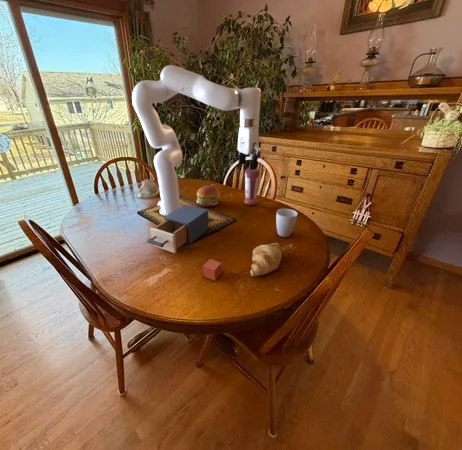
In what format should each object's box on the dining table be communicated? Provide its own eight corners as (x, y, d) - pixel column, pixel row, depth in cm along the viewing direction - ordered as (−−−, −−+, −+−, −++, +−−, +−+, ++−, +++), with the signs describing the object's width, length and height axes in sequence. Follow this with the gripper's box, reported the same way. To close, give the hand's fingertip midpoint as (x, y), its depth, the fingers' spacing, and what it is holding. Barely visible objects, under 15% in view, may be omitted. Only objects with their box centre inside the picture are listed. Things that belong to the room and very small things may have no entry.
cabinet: (190, 244, 97) (188, 223, 92) (166, 236, 103) (163, 216, 98) (208, 228, 107) (208, 209, 103) (186, 222, 114) (184, 204, 109)
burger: (202, 210, 125) (201, 192, 120) (193, 201, 136) (191, 185, 132) (224, 205, 130) (224, 188, 125) (213, 197, 141) (213, 181, 136)
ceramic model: (149, 199, 142) (147, 183, 137) (134, 197, 146) (131, 181, 141) (162, 191, 153) (160, 176, 148) (148, 189, 157) (146, 175, 152)
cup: (294, 230, 103) (297, 209, 98) (293, 240, 96) (297, 218, 92) (274, 228, 106) (277, 207, 101) (273, 237, 99) (275, 215, 94)
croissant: (259, 290, 77) (272, 278, 71) (236, 269, 79) (246, 256, 74) (283, 257, 91) (295, 244, 86) (262, 240, 94) (273, 227, 88)
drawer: (167, 259, 87) (164, 241, 83) (145, 250, 92) (141, 233, 89) (194, 237, 100) (193, 220, 96) (173, 230, 105) (171, 215, 102)
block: (203, 276, 79) (203, 265, 77) (210, 269, 82) (210, 258, 80) (214, 280, 77) (214, 270, 75) (221, 273, 80) (221, 262, 78)
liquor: (258, 206, 127) (262, 153, 113) (244, 207, 127) (246, 153, 114) (255, 201, 133) (259, 150, 120) (242, 201, 133) (244, 150, 120)
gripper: (231, 122, 100) (230, 163, 108) (251, 126, 85) (249, 172, 94) (247, 121, 102) (245, 161, 110) (269, 124, 88) (266, 170, 96)
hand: (247, 166), depth 102 cm, fingers open, 9 cm apart
